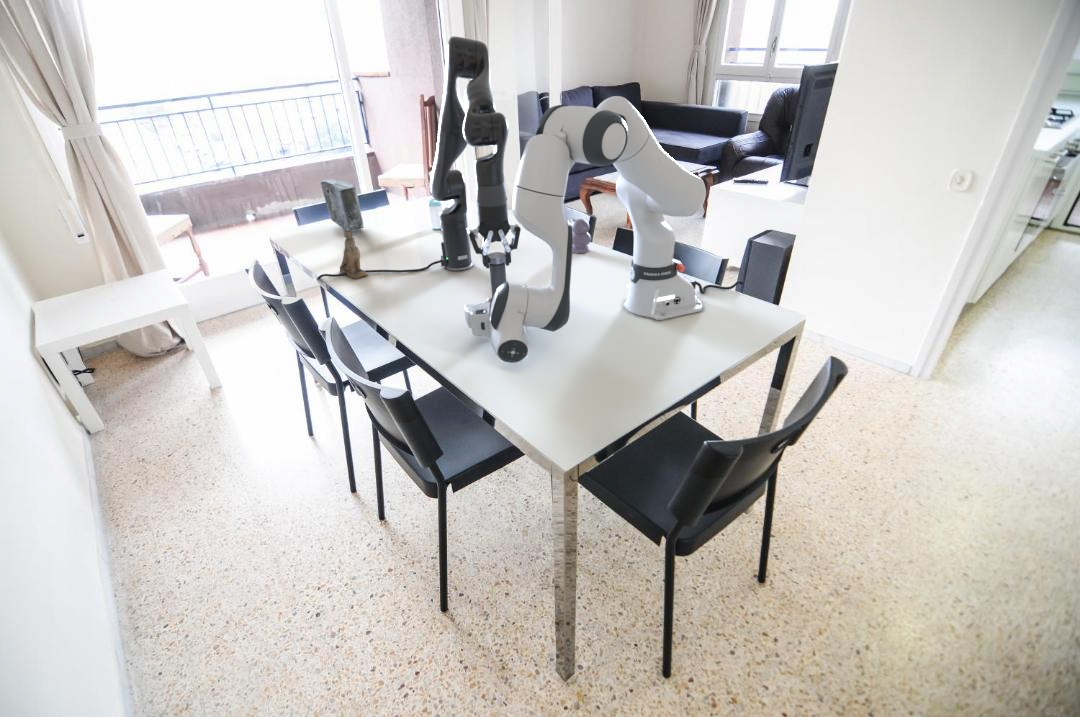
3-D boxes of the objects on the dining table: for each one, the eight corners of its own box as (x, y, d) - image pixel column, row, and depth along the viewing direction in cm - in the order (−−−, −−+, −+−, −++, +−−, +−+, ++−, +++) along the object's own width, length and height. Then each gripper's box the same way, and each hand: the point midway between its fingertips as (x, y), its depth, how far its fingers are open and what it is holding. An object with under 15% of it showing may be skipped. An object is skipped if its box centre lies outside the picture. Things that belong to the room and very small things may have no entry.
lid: (495, 266, 129) (495, 259, 128) (483, 261, 132) (483, 255, 131) (510, 260, 132) (509, 254, 131) (497, 256, 135) (497, 250, 134)
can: (445, 229, 220) (441, 202, 214) (429, 230, 220) (425, 202, 214) (447, 224, 226) (444, 198, 220) (432, 225, 226) (428, 198, 220)
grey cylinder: (491, 323, 141) (485, 258, 131) (500, 317, 144) (494, 253, 134) (503, 327, 139) (498, 261, 129) (512, 321, 142) (507, 256, 132)
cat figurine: (595, 249, 191) (595, 218, 185) (582, 255, 186) (582, 223, 180) (577, 245, 196) (578, 214, 190) (564, 250, 191) (564, 219, 185)
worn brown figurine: (368, 281, 178) (362, 235, 166) (353, 285, 175) (347, 238, 163) (352, 266, 184) (346, 221, 172) (338, 270, 181) (331, 224, 169)
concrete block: (369, 233, 219) (358, 186, 208) (349, 237, 215) (337, 190, 204) (349, 220, 237) (339, 177, 227) (331, 224, 233) (319, 180, 223)
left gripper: (516, 195, 129) (519, 258, 138) (461, 201, 126) (468, 264, 135) (523, 202, 123) (526, 267, 131) (465, 208, 119) (472, 274, 128)
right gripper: (544, 306, 127) (535, 285, 139) (464, 314, 125) (462, 292, 136) (545, 328, 130) (536, 305, 142) (467, 336, 128) (465, 313, 139)
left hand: (497, 265), depth 133 cm, fingers closed on lid, 5 cm apart
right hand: (499, 299), depth 139 cm, fingers closed on grey cylinder, 4 cm apart
